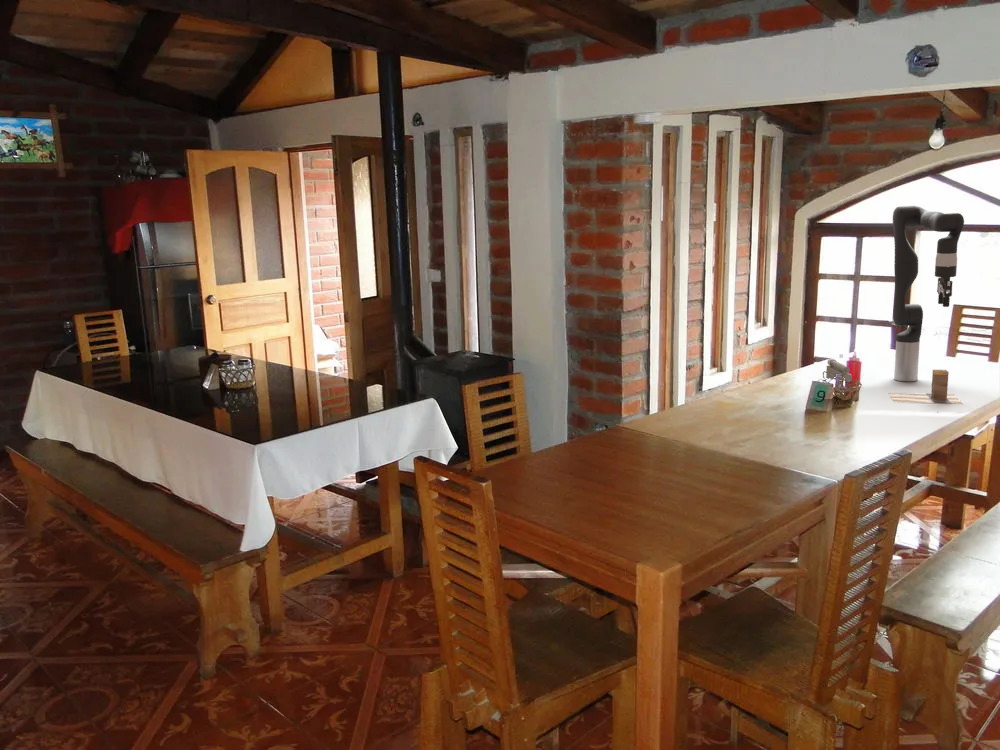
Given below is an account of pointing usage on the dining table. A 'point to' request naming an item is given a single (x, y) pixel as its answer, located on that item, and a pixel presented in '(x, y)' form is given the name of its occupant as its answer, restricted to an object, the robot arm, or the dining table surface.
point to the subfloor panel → (922, 398)
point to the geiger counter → (837, 370)
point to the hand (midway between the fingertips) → (943, 305)
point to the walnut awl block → (939, 384)
